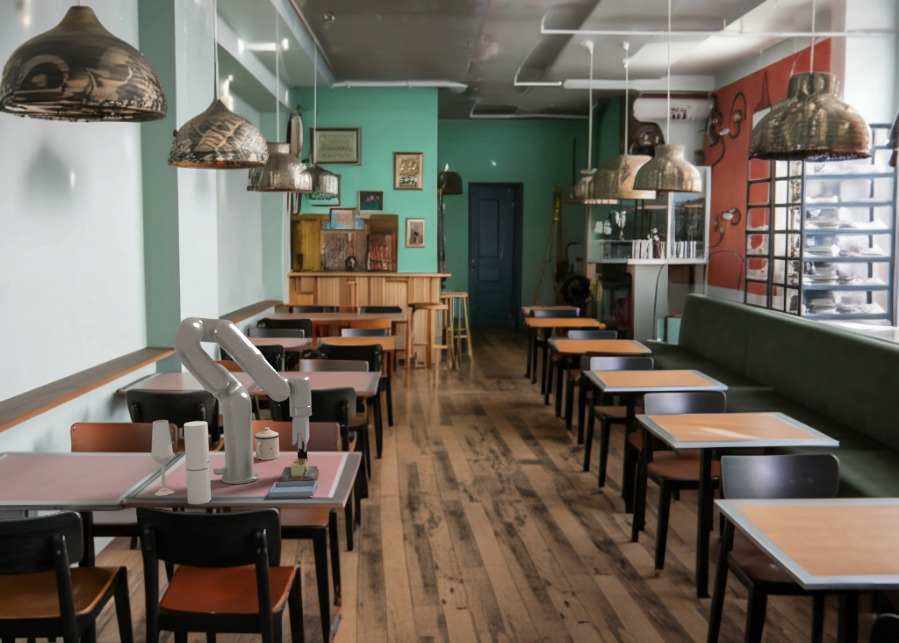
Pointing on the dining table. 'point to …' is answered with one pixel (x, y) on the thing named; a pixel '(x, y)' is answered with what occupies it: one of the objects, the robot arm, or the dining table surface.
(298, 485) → the tray
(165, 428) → the champagne flute
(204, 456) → the cylindrical container
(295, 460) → the light brown cube
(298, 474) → the tan wooden cube
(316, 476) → the slot bed
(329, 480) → the dining table surface
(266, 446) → the teacup with lid
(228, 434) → the robot arm
